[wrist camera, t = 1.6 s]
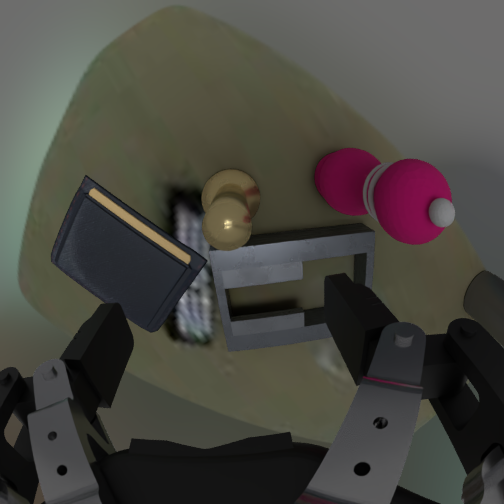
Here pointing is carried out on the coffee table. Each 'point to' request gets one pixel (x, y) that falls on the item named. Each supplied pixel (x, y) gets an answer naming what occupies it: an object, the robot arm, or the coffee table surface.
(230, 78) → the coffee table surface
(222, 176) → the bolt
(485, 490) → the robot arm
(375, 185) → the pepper mill
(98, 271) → the wallet
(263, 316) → the keyhole plate
